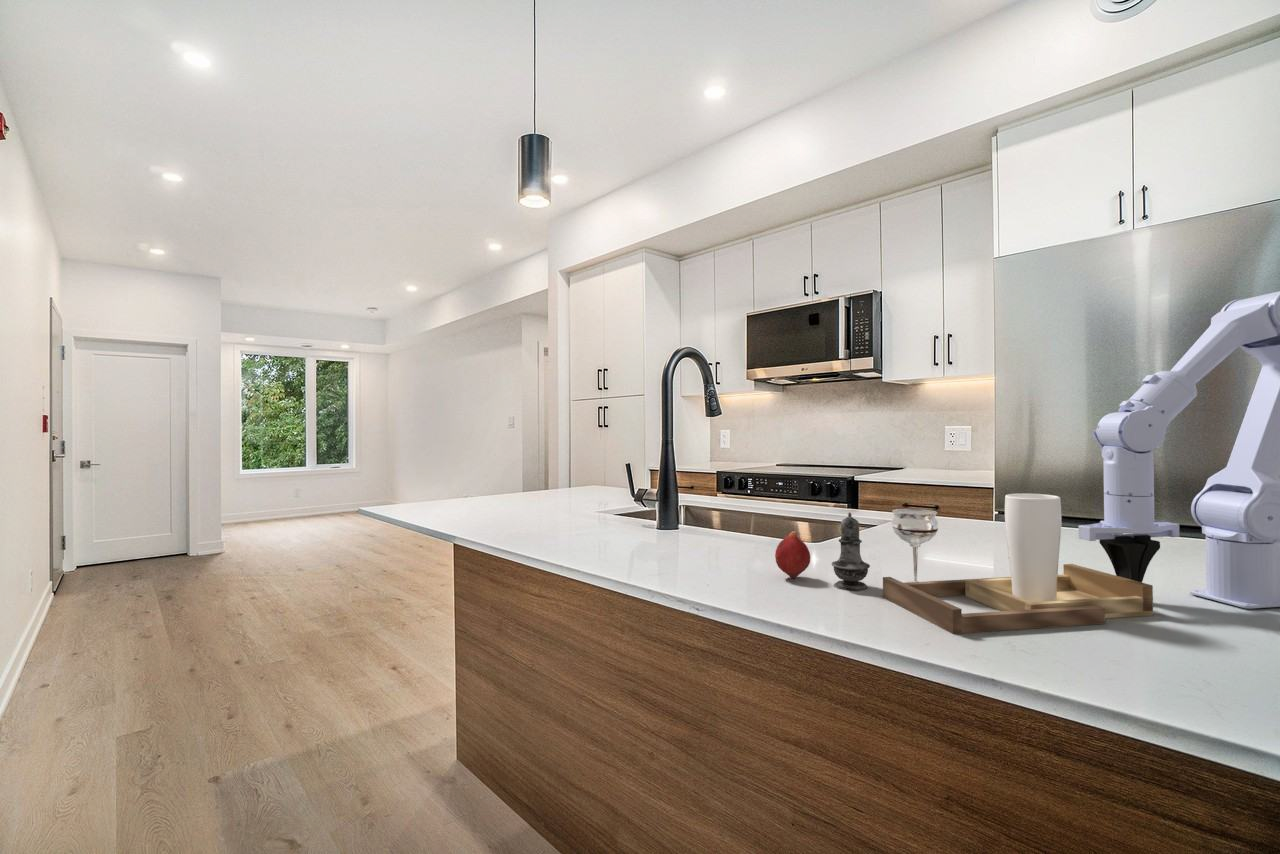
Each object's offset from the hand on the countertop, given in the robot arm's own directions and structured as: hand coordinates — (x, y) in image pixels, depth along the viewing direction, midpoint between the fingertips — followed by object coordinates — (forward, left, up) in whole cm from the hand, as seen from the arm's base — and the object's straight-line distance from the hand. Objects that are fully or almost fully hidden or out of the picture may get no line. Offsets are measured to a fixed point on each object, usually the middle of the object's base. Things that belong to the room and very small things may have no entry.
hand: (1129, 588), depth 89 cm
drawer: (+12, 0, -2) cm, 12 cm away
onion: (+42, -22, -2) cm, 48 cm away
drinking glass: (+15, 0, -1) cm, 15 cm away
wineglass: (+25, -13, -2) cm, 28 cm away
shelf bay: (+22, 0, -2) cm, 22 cm away
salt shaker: (+35, -15, -2) cm, 38 cm away
